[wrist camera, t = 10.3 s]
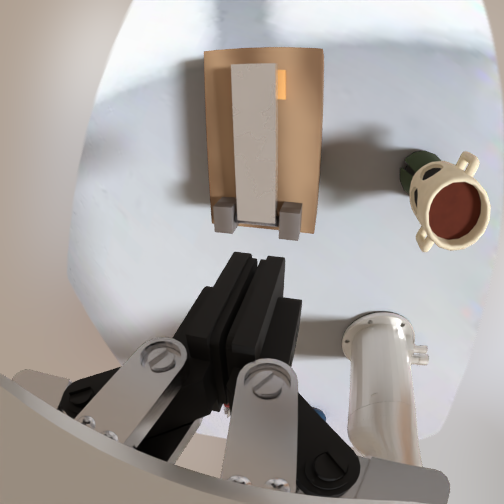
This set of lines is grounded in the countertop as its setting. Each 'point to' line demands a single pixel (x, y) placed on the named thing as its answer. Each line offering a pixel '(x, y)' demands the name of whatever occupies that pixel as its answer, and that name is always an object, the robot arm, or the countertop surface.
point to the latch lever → (256, 142)
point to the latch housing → (289, 135)
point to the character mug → (446, 200)
